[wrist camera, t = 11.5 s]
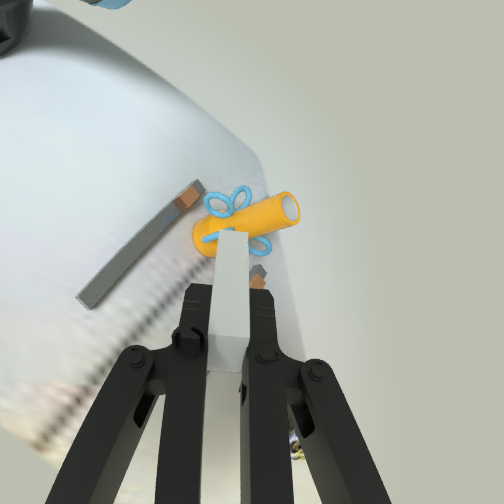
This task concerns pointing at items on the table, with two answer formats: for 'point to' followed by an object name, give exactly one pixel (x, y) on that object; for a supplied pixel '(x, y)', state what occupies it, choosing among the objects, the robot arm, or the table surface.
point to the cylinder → (245, 220)
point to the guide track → (142, 241)
